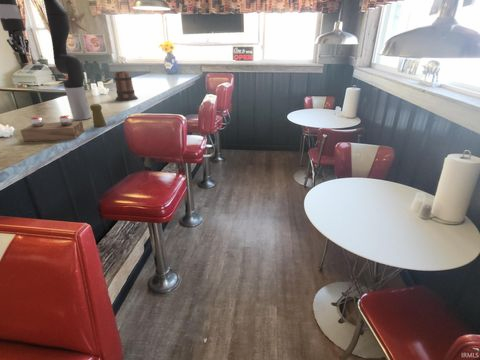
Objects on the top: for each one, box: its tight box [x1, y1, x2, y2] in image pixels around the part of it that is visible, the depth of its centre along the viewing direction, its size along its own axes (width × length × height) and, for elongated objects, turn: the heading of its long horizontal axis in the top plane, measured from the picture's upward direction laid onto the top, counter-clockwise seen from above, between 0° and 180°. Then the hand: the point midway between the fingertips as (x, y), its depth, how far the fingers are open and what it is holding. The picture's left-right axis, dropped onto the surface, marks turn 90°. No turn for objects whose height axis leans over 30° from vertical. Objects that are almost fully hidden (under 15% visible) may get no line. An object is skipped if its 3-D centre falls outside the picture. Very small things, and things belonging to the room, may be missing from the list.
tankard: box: [114, 71, 139, 102], centre depth 217 cm, size 24×17×20 cm
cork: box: [89, 103, 107, 128], centre depth 144 cm, size 6×6×11 cm
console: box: [20, 120, 85, 143], centre depth 129 cm, size 12×21×5 cm, turn 99°
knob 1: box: [29, 116, 44, 127], centre depth 127 cm, size 4×4×7 cm
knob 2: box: [58, 115, 73, 126], centre depth 128 cm, size 4×4×7 cm
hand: (25, 63), depth 124 cm, fingers closed
